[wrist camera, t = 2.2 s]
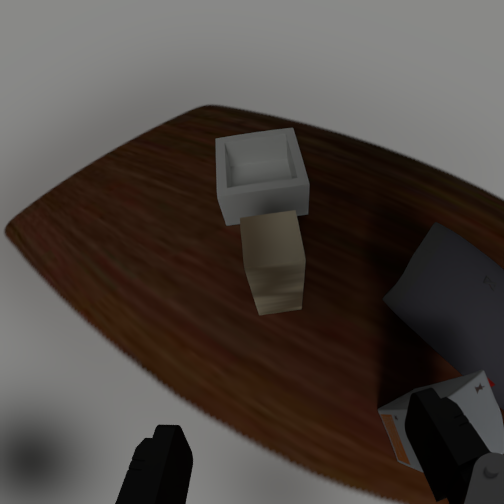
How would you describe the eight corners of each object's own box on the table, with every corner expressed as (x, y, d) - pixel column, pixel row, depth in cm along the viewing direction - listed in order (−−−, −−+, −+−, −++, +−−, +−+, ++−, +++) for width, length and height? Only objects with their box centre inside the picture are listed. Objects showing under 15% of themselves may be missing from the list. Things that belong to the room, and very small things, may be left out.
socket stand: (293, 158, 38) (292, 127, 34) (308, 214, 34) (309, 184, 29) (223, 168, 39) (215, 138, 34) (226, 225, 34) (217, 197, 30)
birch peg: (295, 271, 31) (295, 210, 22) (301, 309, 29) (305, 259, 20) (254, 276, 31) (239, 217, 22) (259, 315, 29) (244, 267, 20)
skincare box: (374, 409, 23) (431, 404, 13) (414, 387, 24) (485, 365, 13) (396, 464, 20) (460, 489, 10) (436, 441, 21) (513, 446, 10)
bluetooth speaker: (365, 321, 27) (397, 276, 19) (414, 255, 30) (450, 196, 21) (511, 444, 18) (574, 440, 9) (545, 372, 20) (603, 347, 12)
